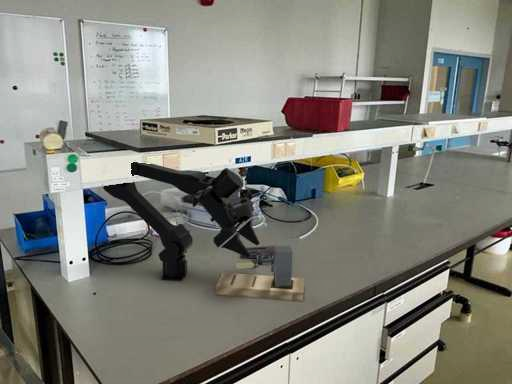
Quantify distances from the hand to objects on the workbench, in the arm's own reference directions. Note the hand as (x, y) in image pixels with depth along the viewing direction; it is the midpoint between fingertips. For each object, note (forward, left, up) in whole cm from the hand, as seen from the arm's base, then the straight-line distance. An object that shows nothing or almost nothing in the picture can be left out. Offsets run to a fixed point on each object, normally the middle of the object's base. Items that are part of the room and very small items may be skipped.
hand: (253, 250), depth 120 cm
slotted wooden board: (+2, -1, -11) cm, 12 cm away
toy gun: (+1, +19, -12) cm, 22 cm away
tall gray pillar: (+8, -1, -11) cm, 14 cm away
